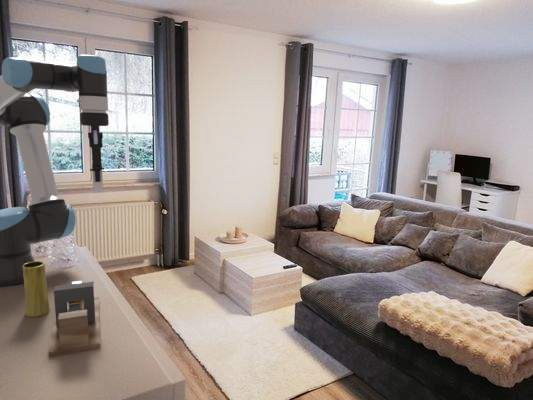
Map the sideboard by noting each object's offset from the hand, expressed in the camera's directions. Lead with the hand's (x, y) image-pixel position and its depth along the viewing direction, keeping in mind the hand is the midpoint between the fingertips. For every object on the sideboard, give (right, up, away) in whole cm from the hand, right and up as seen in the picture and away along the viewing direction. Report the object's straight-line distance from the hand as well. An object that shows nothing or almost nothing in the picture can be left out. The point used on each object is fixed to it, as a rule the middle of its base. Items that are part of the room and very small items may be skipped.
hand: (98, 191), depth 120 cm
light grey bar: (0, -31, -14) cm, 34 cm away
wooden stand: (0, -36, -13) cm, 38 cm away
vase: (-14, -34, -8) cm, 38 cm away
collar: (+1, -34, -16) cm, 38 cm away
